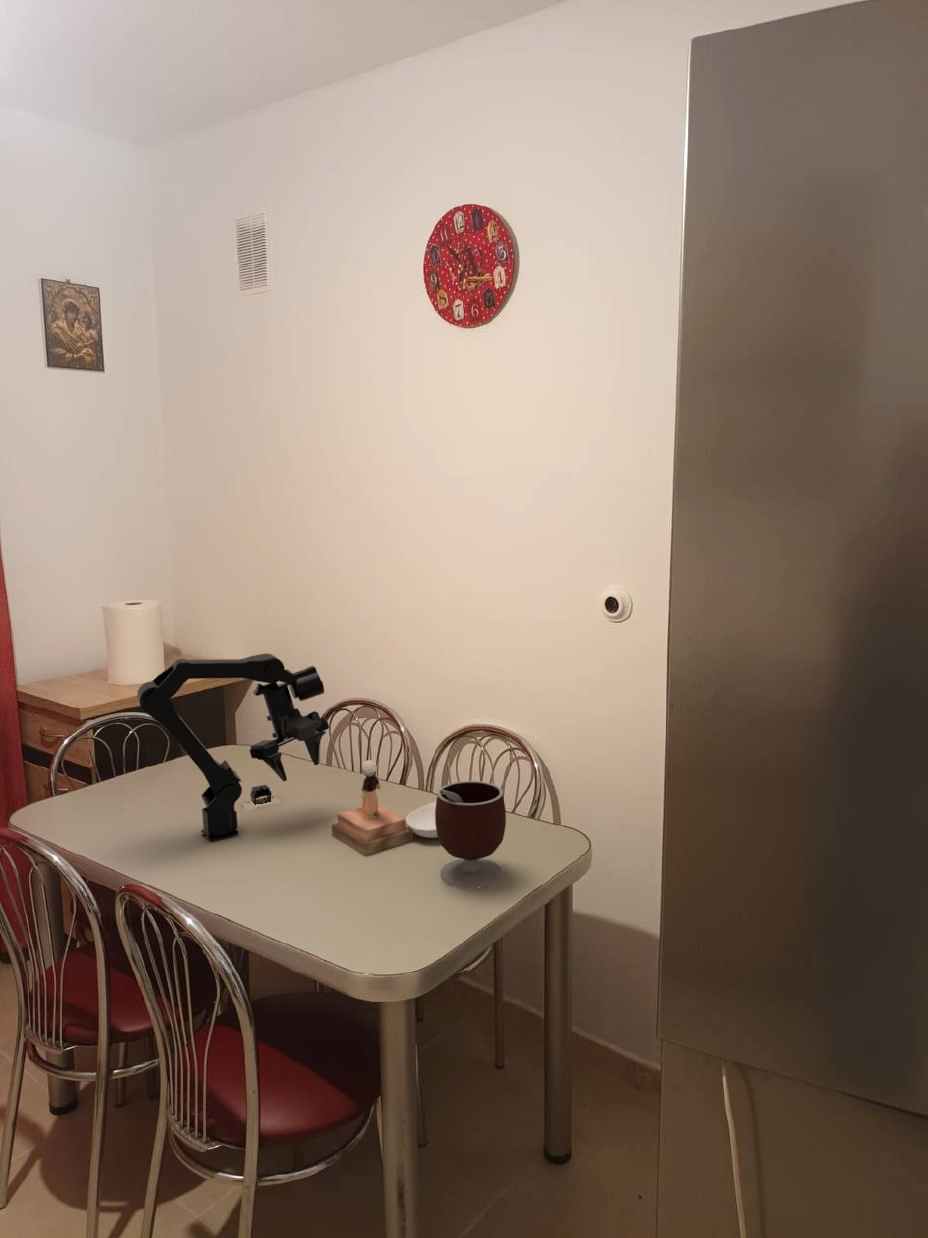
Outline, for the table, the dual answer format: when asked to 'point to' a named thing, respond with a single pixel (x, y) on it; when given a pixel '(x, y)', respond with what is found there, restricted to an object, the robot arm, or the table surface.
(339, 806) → the table surface
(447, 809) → the mate gourd
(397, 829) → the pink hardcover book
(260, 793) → the black barn door light
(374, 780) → the grandmother figurine
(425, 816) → the spoon rest
